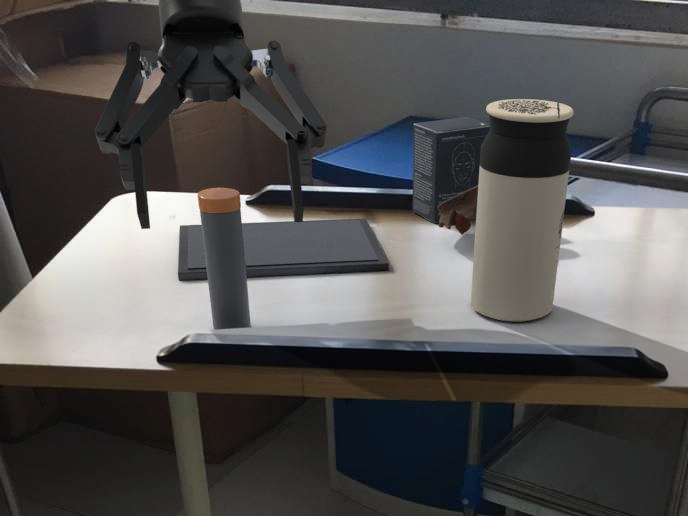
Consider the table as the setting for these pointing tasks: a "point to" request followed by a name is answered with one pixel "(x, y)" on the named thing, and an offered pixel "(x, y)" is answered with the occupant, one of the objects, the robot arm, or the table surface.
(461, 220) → the brown jagged lump
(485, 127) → the box
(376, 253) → the tablet
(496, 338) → the table surface
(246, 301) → the bottle
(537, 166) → the travel mug
